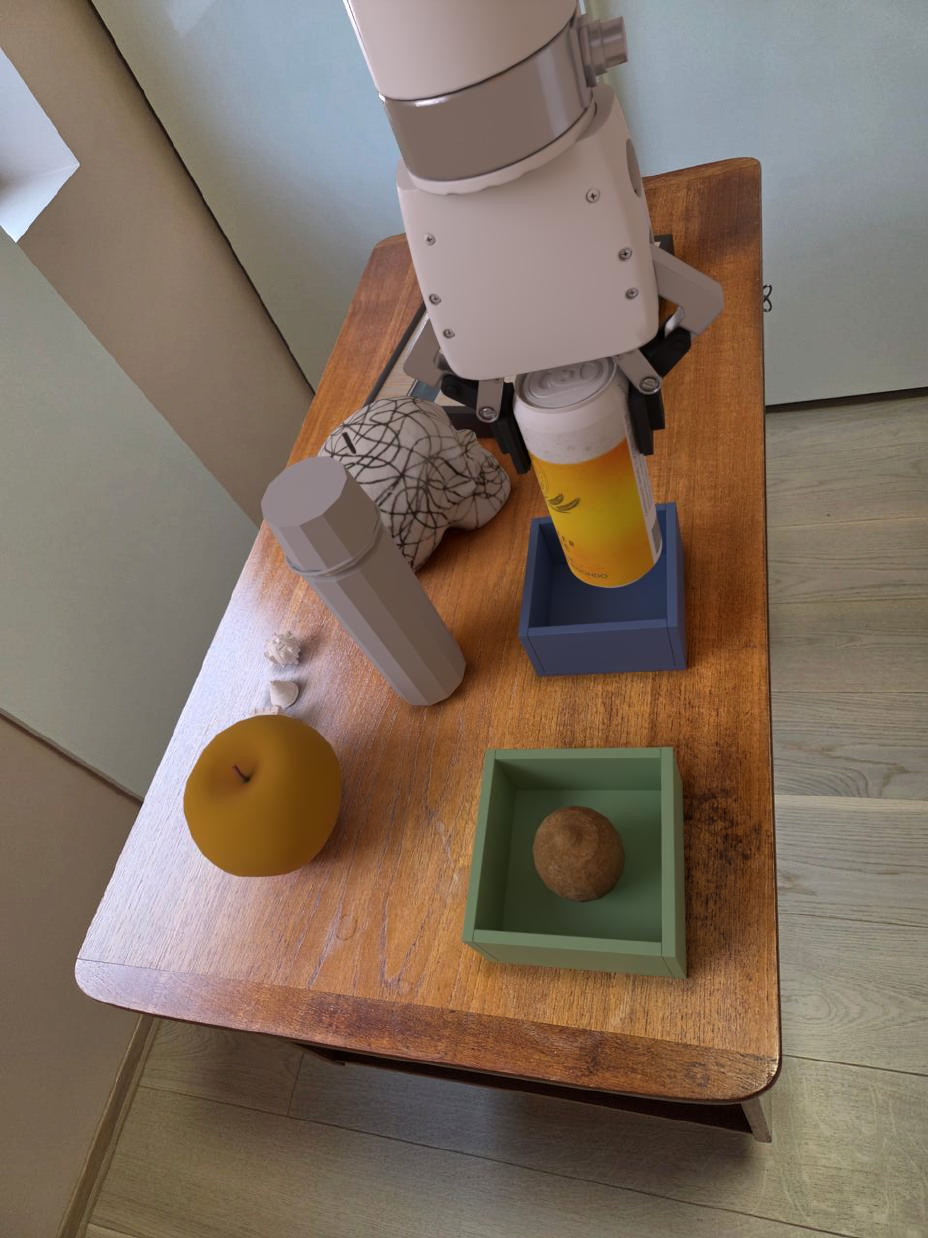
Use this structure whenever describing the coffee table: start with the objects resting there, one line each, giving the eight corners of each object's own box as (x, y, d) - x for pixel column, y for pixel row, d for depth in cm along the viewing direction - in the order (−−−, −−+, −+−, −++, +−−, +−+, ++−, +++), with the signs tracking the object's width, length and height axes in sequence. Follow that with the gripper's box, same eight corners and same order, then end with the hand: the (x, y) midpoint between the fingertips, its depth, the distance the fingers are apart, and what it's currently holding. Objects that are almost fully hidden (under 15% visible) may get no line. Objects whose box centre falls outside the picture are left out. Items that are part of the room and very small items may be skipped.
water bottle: (487, 675, 70) (373, 483, 50) (416, 728, 69) (273, 554, 50) (437, 615, 75) (318, 423, 56) (371, 664, 75) (228, 486, 55)
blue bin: (683, 549, 70) (675, 501, 65) (686, 669, 64) (678, 626, 59) (548, 562, 75) (531, 518, 70) (537, 676, 68) (517, 636, 63)
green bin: (682, 783, 58) (673, 746, 53) (686, 979, 51) (675, 957, 46) (509, 783, 63) (485, 749, 58) (490, 962, 56) (461, 941, 51)
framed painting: (605, 413, 78) (358, 412, 92) (611, 440, 81) (371, 436, 95) (672, 233, 92) (448, 256, 106) (675, 262, 95) (457, 280, 109)
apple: (366, 738, 70) (306, 675, 61) (378, 878, 62) (311, 829, 53) (239, 777, 72) (164, 722, 63) (235, 918, 64) (148, 877, 55)
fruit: (615, 930, 54) (593, 898, 47) (535, 895, 57) (504, 861, 51) (645, 846, 56) (628, 806, 50) (567, 818, 59) (542, 776, 53)
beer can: (571, 526, 53) (511, 346, 42) (662, 515, 51) (626, 322, 40) (567, 599, 50) (500, 424, 38) (664, 589, 48) (625, 403, 36)
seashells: (292, 748, 72) (275, 733, 70) (261, 753, 73) (243, 738, 70) (307, 641, 79) (292, 624, 77) (279, 647, 80) (262, 630, 77)
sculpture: (528, 557, 76) (481, 446, 64) (342, 614, 80) (267, 519, 68) (505, 455, 85) (461, 342, 74) (340, 511, 89) (273, 412, 77)
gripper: (724, -21, 28) (745, 373, 42) (310, 120, 34) (448, 426, 48) (739, 70, 24) (757, 474, 38) (265, 213, 30) (431, 518, 44)
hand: (584, 444), depth 43 cm, fingers closed on beer can, 6 cm apart
